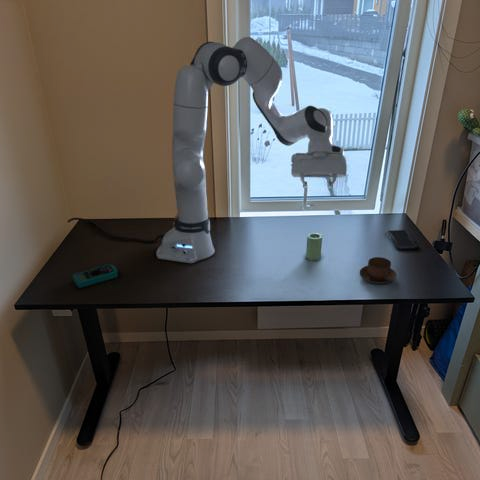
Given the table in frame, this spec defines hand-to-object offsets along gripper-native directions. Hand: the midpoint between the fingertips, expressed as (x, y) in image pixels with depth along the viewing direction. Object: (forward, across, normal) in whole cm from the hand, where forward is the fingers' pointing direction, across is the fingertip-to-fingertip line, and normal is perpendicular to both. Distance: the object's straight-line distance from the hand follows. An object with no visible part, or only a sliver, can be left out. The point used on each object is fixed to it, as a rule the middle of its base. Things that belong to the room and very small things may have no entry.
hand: (317, 187), depth 170 cm
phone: (+13, +34, +19) cm, 41 cm away
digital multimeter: (+41, -76, -10) cm, 87 cm away
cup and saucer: (+35, +22, -3) cm, 41 cm away
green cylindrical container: (+24, 0, +7) cm, 25 cm away
